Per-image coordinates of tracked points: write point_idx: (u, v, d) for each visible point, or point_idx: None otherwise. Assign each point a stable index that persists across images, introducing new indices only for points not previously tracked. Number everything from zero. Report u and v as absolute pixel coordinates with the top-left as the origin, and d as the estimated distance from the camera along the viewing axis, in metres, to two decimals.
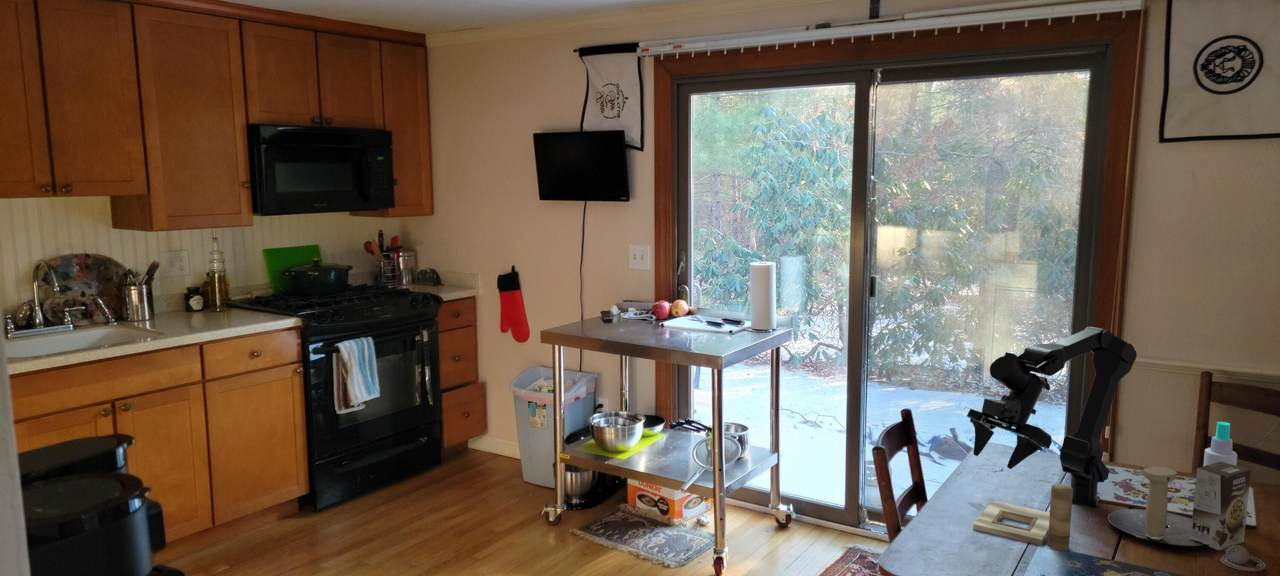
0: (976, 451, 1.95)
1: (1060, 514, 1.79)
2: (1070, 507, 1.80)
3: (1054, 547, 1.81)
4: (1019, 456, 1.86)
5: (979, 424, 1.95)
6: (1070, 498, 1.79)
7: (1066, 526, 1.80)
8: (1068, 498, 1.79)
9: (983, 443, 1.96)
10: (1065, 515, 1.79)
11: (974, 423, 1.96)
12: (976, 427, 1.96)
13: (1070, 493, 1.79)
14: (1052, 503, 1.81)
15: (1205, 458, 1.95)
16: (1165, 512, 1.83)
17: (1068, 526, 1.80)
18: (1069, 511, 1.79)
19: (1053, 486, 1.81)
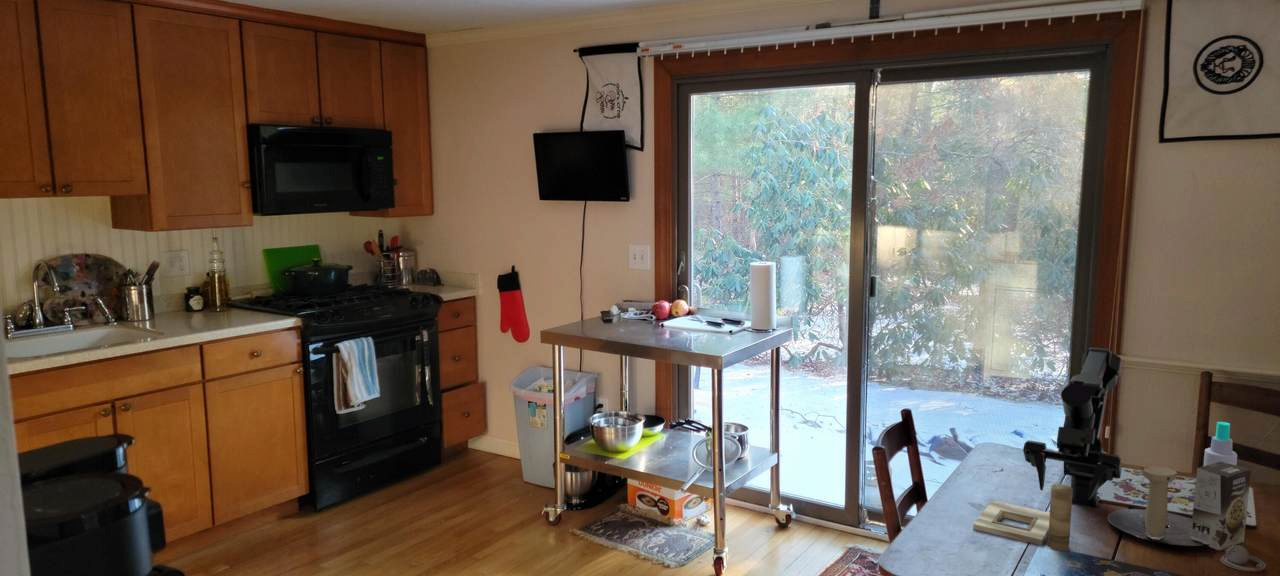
0: (1042, 485, 1.86)
1: (1060, 514, 1.79)
2: (1070, 507, 1.80)
3: (1054, 547, 1.81)
4: (1097, 486, 1.82)
5: (1042, 456, 1.88)
6: (1070, 498, 1.79)
7: (1066, 526, 1.80)
8: (1068, 498, 1.79)
9: (1044, 477, 1.88)
10: (1065, 515, 1.79)
11: (1036, 456, 1.89)
12: (1038, 460, 1.89)
13: (1070, 493, 1.79)
14: (1052, 503, 1.81)
15: (1205, 458, 1.95)
16: (1165, 512, 1.83)
17: (1068, 526, 1.80)
18: (1069, 511, 1.79)
19: (1053, 486, 1.81)
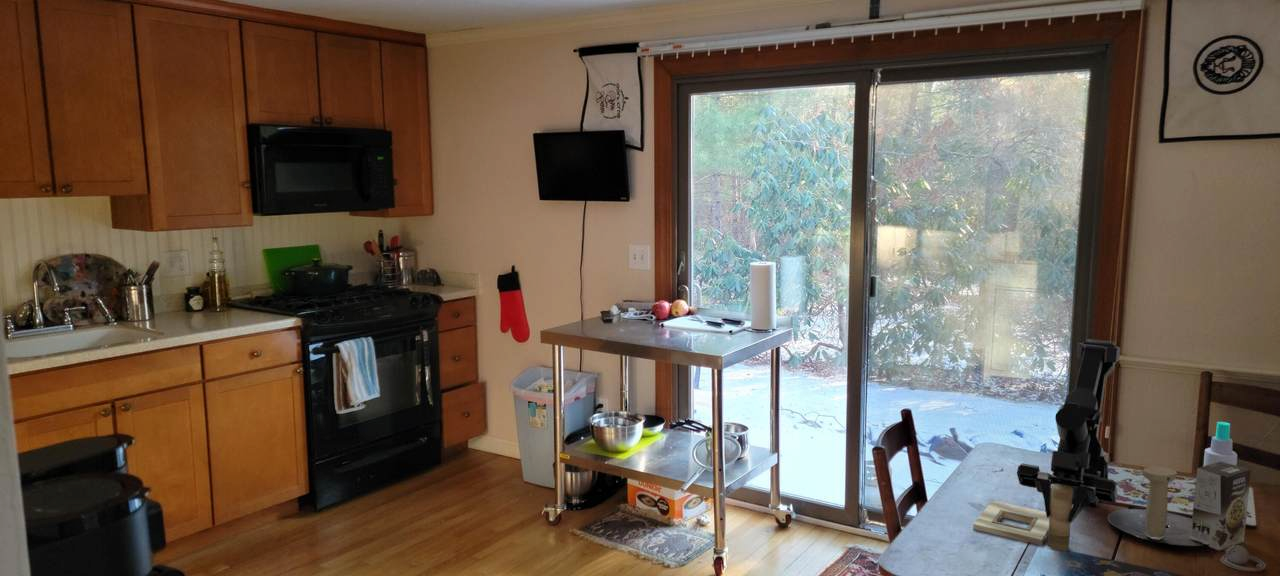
0: (1049, 512, 1.82)
1: (1060, 514, 1.79)
2: (1070, 507, 1.80)
3: (1054, 547, 1.81)
4: (1079, 508, 1.80)
5: (1049, 483, 1.83)
6: (1070, 498, 1.79)
7: (1066, 526, 1.80)
8: (1068, 498, 1.79)
9: None
10: (1065, 515, 1.79)
11: (1042, 482, 1.84)
12: (1044, 487, 1.84)
13: (1070, 493, 1.79)
14: (1052, 503, 1.81)
15: (1205, 458, 1.95)
16: (1165, 512, 1.83)
17: (1068, 526, 1.80)
18: (1069, 511, 1.79)
19: (1053, 486, 1.81)
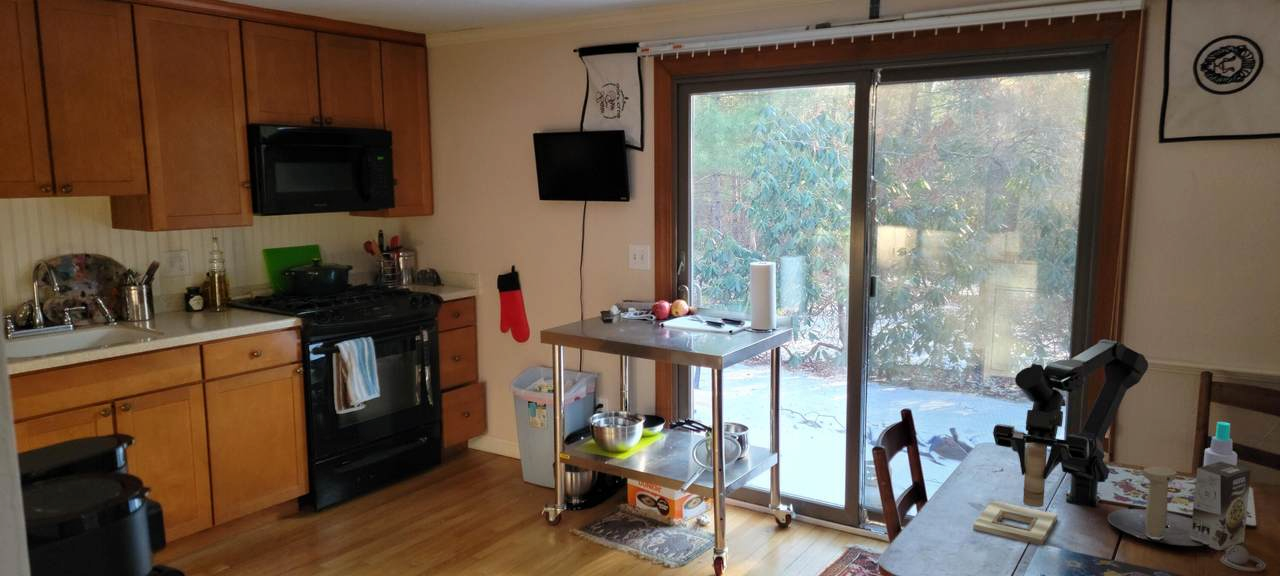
0: (1024, 470, 1.87)
1: (1035, 471, 1.85)
2: (1044, 464, 1.85)
3: (1029, 503, 1.87)
4: (1052, 465, 1.86)
5: (1024, 441, 1.89)
6: (1044, 455, 1.85)
7: (1041, 482, 1.85)
8: (1042, 455, 1.84)
9: None
10: (1040, 472, 1.85)
11: (1017, 441, 1.89)
12: (1019, 445, 1.89)
13: (1044, 450, 1.84)
14: (1027, 461, 1.86)
15: (1205, 458, 1.95)
16: (1165, 512, 1.83)
17: (1043, 483, 1.86)
18: (1043, 468, 1.85)
19: (1028, 444, 1.87)
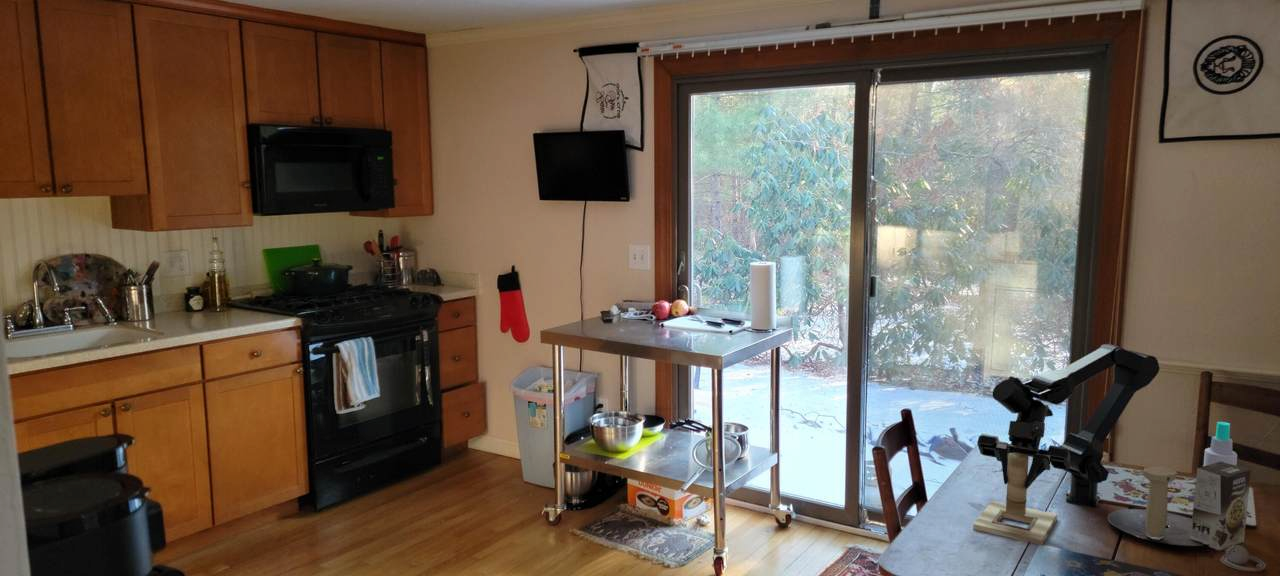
0: (1006, 479, 1.92)
1: (1016, 480, 1.90)
2: (1026, 474, 1.90)
3: (1011, 512, 1.91)
4: (1034, 475, 1.90)
5: (1007, 451, 1.93)
6: (1026, 465, 1.89)
7: (1022, 492, 1.90)
8: (1024, 465, 1.89)
9: None
10: (1021, 482, 1.89)
11: (1000, 451, 1.94)
12: (1002, 455, 1.94)
13: (1026, 461, 1.89)
14: (1009, 470, 1.91)
15: (1205, 458, 1.95)
16: (1165, 512, 1.83)
17: (1024, 492, 1.90)
18: (1025, 478, 1.90)
19: (1010, 454, 1.91)
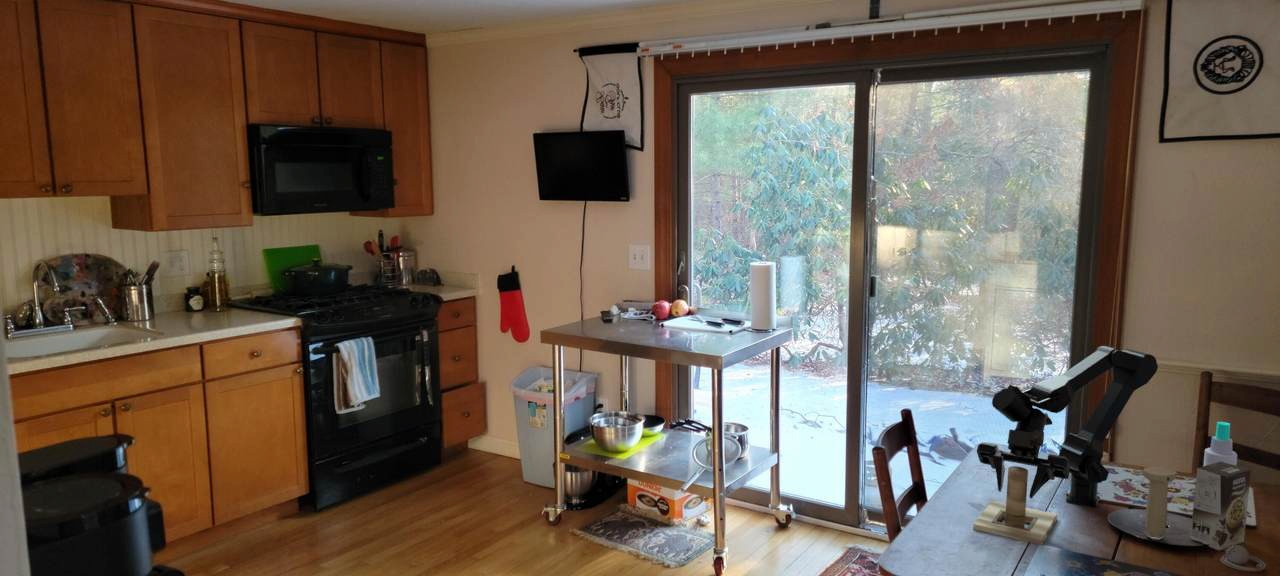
0: (1000, 487, 1.93)
1: (1016, 494, 1.90)
2: (1025, 488, 1.90)
3: None
4: (1038, 485, 1.90)
5: (1001, 459, 1.94)
6: (1025, 479, 1.90)
7: (1022, 505, 1.90)
8: (1023, 479, 1.89)
9: (1002, 479, 1.95)
10: (1021, 495, 1.90)
11: (995, 459, 1.95)
12: (997, 463, 1.95)
13: (1025, 474, 1.89)
14: (1009, 484, 1.91)
15: (1205, 458, 1.95)
16: (1165, 512, 1.83)
17: (1023, 506, 1.91)
18: (1024, 491, 1.90)
19: (1010, 468, 1.92)
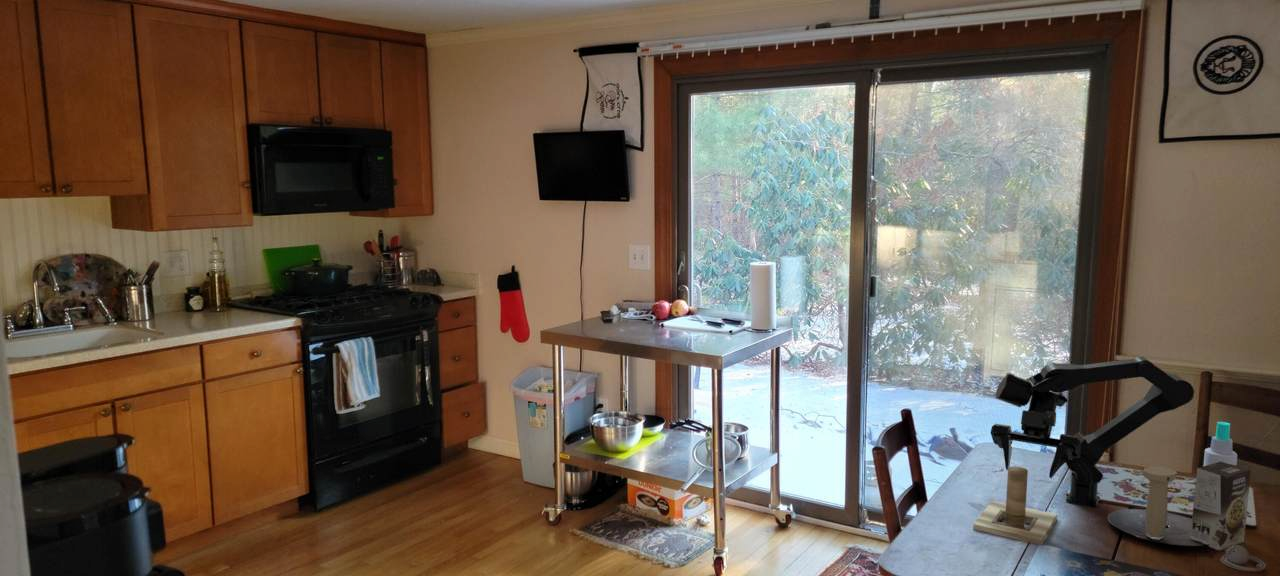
0: (1008, 465, 2.00)
1: (1015, 494, 1.90)
2: (1025, 488, 1.90)
3: None
4: (1058, 465, 1.95)
5: (1008, 438, 2.01)
6: (1025, 479, 1.90)
7: (1022, 505, 1.90)
8: (1023, 479, 1.89)
9: (1009, 458, 2.02)
10: (1020, 495, 1.90)
11: (1002, 438, 2.02)
12: (1004, 442, 2.02)
13: (1025, 474, 1.89)
14: (1008, 484, 1.91)
15: (1205, 458, 1.95)
16: (1165, 512, 1.83)
17: (1023, 506, 1.91)
18: (1024, 491, 1.90)
19: (1009, 468, 1.92)
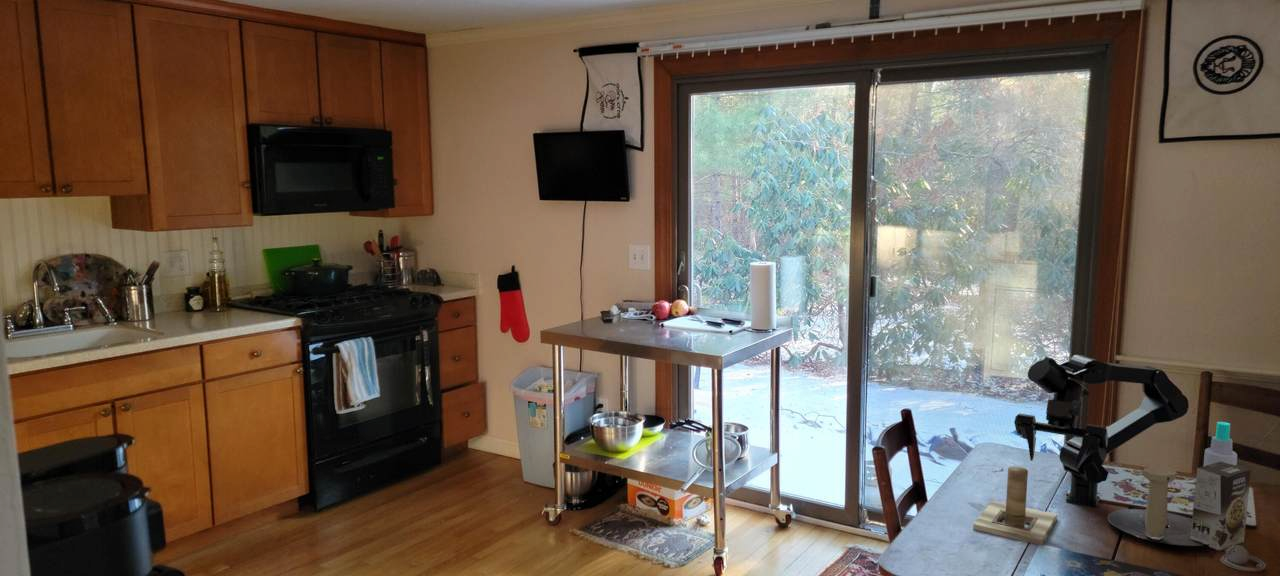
0: (1032, 455, 1.95)
1: (1016, 494, 1.90)
2: (1025, 488, 1.90)
3: None
4: (1084, 455, 1.91)
5: (1033, 428, 1.97)
6: (1025, 479, 1.90)
7: (1022, 505, 1.90)
8: (1023, 479, 1.89)
9: (1034, 448, 1.98)
10: (1020, 496, 1.90)
11: (1026, 428, 1.98)
12: (1028, 432, 1.98)
13: (1025, 474, 1.89)
14: (1008, 484, 1.91)
15: (1205, 458, 1.95)
16: (1165, 512, 1.83)
17: (1023, 506, 1.91)
18: (1024, 491, 1.90)
19: (1010, 468, 1.92)
